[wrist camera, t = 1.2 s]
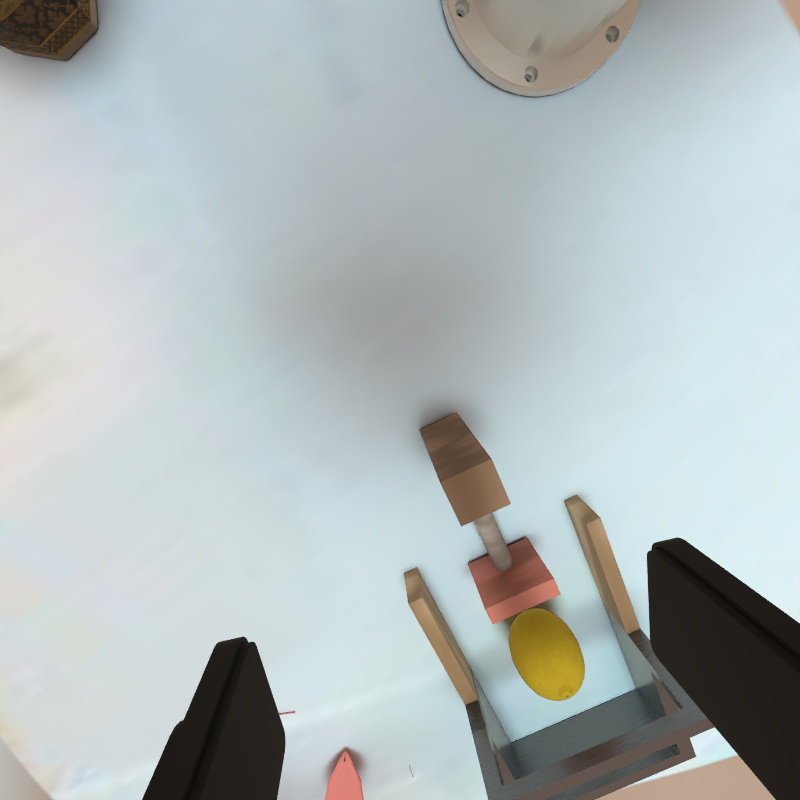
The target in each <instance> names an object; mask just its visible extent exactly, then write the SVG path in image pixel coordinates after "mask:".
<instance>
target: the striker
mask: <svg viewBox="0 0 800 800" xmlns="http://www.w3.org/2000/svg"><path fill="white" fill-rule="evenodd" d="M420 433H421V435H422V438H423V440H424V443H425V445H426V448H427V450H428V453H429V455H430V458H431V460H432V463H433V466H434V468H435V471H436V473H437V476H438V478H439V481H440V483H441V485H442V487H443V489H444V491H445V493H446V496H447V498H448V500H449V502H450V504H451V506H452V508H453V510H454V512H455V514H456V516H457V518H458V521H459V523H460V525H461V526H463V525H465V524H467V523H470V522H472V521H474V523H475V526H476V528H477V530H478V532H479V534H480V536H481V538H482V541H483V543H484V545H485V547H486V549H487V551H488V553H489V555H487V556H485V557H483V558H481V559H478V560H476V561H474V562H472V563H469V564H468V565H469V568H470V570H471V573H472V576H473V578H474V581H475V583H476V586H477V589H478V591H479V594H480V597H481V599H482V602H483V605H484V607H485V610H486V612H487V614H488V616H489V618H490V620H491V622H492V624H495V623H497V622H499V621H502V620H504V619H506V618H508V617H511V616H513V615H515V614H517V613H520V612H522V611H524V610H526V609H529V608H531V607H533V606H535V605H538V604H540V603H542V602H544V601H547V600H549V599H551V598H553V597H556V596H558V595H560V592H559V590H558V587H557V585H556V582H555V580H554V578H553V576H552V575H551V573H550V572H549V570H548V569H547V567H546V566H545V564H544V563H543V561H542V560H541V558H540V557H539V555H538V554H537V552H536V551H535V549H534V548H533V546H532V545H531V543H530V541H529V540H528V538H525V539H523V540H521V541H518V542H516V543H514V544H512V545H509V546H506V543H505V541H504V539H503V537H502V535H501V532H500V530H499V528H498V526H497V523H496V521H495V519H494V517H493V514H492V512H494V511H496V510H498V509H500V508H503V507H505V506H507V505H509V504H511V503H510V501H509V499H508V496H507V494H506V492H505V489H504V487H503V485H502V482H501V480H500V478H499V475H498V473H497V471H496V468H495V466H494V464H493V461H492V459H491V458H490V456H489V455H488V454H487V452H486V451H485V450H484V448H483V447H482V446H481V444H480V443H479V442H478V440H477V439H476V438H475V436H474V435H473V434H472V432H471V431H470V430H469V428H468V427H467V426H466V424H465V423H464V422H463V420H462V419H461V418H460V417H459V415H458V414H457V413H455V414H453V415H451V416H449V417H446V418H444V419H442V420H440V421H438V422H436V423H433V424H431V425H429V426H427V427H425V428H423V429H421V430H420Z"/></svg>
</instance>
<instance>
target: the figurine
mask: <svg viewBox="0 0 800 800" xmlns="http://www.w3.org/2000/svg"><path fill="white" fill-rule="evenodd" d="M289 713H295V711H293V712H285V713H279V715H281V714H289ZM351 760H352V759H351V758H350V756H349V754H348V753H347V751H344V753H343V755H342V756H341V758H340V759H339V761H338V763H337V765H336V767H335V769H334V771H333V774H332V776H331V778H330V780H329V783H328V788H327V792H326V797H325V800H364V799H363V792H362V785H361V780H360V777H359V775H357V774H358V773H356V772H357V770H356V771H355V769H356V768H354V767H355V766H353V764H352V762H353V761H352V762H351ZM409 767H410V765H409ZM410 770H411V769H410ZM411 773H412V772H411ZM412 776H413V775H412Z"/></svg>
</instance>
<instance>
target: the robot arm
mask: <svg viewBox="0 0 800 800" xmlns="http://www.w3.org/2000/svg"><path fill="white" fill-rule="evenodd" d="M441 1H442V7H443V11H444V14H445V17H446V21H447V24H448V27H449V30H450V32H451V34H452V36H453V38H454V40H455V42H456V44H457V47H458V49H459V50H460V51H461V53H462V54H463V56H464V57H465V58H466V60H467V61H468V62H469V64H470V65H471V66H472V67H473V68H474V69H475V70H476V71H477V72H478V73H479V74H480V75H481V76H482V77H484V78H485V79H486V80H487V81H489V82H491V83H492V84H494V85H496V86H497V87H499V88H501V89H503V90H506V91H509V92H512V93H515V94H518V95H526V96H536V97H537V96H545V95H552V94H557V93H559V92H562V91H565V90H567V89H570V88H573V87H574V86H576V85H577V84H579V83H581V82H582V81H584V80H585V79H587V78H589V77H590V76H591V75H592V74H593V73H594V72H595V71H596V70H598V69H599V68H600V67H601V66H602V65H603V64H604V63H605V62H606V61H607V60H608V59H609V58H610V56H611V55H612V54H613V53H614V52H615V51H616V50H617V49H618V47H619V46H620V44H621V42H622V41H623V39H624V38H625V36H626V35H627V33H628V32H629V30H630V28H631V26H632V23H633V21H634V19H635V16H636V14H637V12H638V10H639V7H640V3H641V0H441ZM457 14H461V15H462V17H460V16H458V15H457ZM525 77H526V78H528V80H529V82H528V81H526V79H525ZM647 570H648V596H649V622H650V642H651V647H652V649H653V652H654V654H655V655H656V657H657V658H658V660H659V661H660V662H661V664H662V665H663V666H664V667H665V668H666V669H667V671H668V672H669V673H670V674H671V675H672V677H673V678H674V679H675V680H676V681H677V683H678V684H679V685H680V686H681V687H682V688H683V690H684V691H685V692H686V693H687V694H688V696H689V697H690V698H691V699H692V700H693V702H694V703H695V704H696V705H697V706H698V708H699V709H700V710H701V711H702V712H703V713H704V715H705V716H706V717H707V718H708V719H709V721H710V722H711V723H712V724H713V725H714V727H715V728H716V729H717V730H718V731H719V732H720V734H721V735H722V736H723V737H724V738H725V740H726V741H727V742H728V743H729V744H730V746H731V747H732V748H733V749H734V750H735V751H736V753H737V754H738V755H739V756H740V757H741V759H742V760H743V761H744V762H745V763H746V764H747V766H748V767H749V768H750V769H751V770H752V772H753V773H754V774H755V775H756V776H757V778H758V779H759V780H760V781H761V782H762V784H763V785H764V786H765V787H766V788H767V789H768V791H769V792H770V793H771V794H772V795H773V797H774V798H775V799H776V800H800V623H798V622H797V621H795V620H794V619H793V618H791V617H790V616H789V615H787V614H786V613H784V612H783V611H782V610H780V609H779V608H778V607H776V606H775V605H773V604H772V603H771V602H769V601H768V600H767V599H765V598H764V597H762V596H761V595H760V594H758V593H757V592H755V591H754V590H753V589H751V588H750V587H749V586H747V585H746V584H744V583H743V582H742V581H740V580H739V579H738V578H736V577H735V576H733V575H732V574H731V573H729V572H728V571H727V570H725V569H724V568H722V567H721V566H720V565H718V564H717V563H715V562H714V561H713V560H711V559H710V558H709V557H707V556H706V555H704V554H703V553H702V552H700V551H699V550H698V549H696V548H695V547H693V546H692V545H691V544H689V543H688V542H687V541H685V540H683V539H681V538H673V539H669V540H665V541H660V542H656V543H654V544H653V545H652V550H651V551H648V553H647ZM284 753H285V732H284V728H283V725H282V722H281V719H280V716H279V713H278V710H277V707H276V704H275V701H274V698H273V695H272V692H271V689H270V686H269V683H268V680H267V677H266V674H265V670H264V667H263V664H262V661H261V658H260V655H259V652H258V649H257V646H256V644H255V643H254V642H249V643H248V641H247V639H246V638H245V637H239V638H235V639H231V640H226V641H222V642H218V643H217V644H216V646H215V647H214V649H213V652H212V654H211V657H210V659H209V661H208V664H207V666H206V668H205V671H204V673H203V676H202V678H201V680H200V683H199V685H198V687H197V690H196V692H195V694H194V697H193V699H192V702H191V704H190V706H189V709H188V711H187V713H186V716H185V718H184V720H183V721H180V722H179V723H178V724H177V725H176V726H175V728H174V730H173V731H172V733H171V735H170V737H169V739H168V742H167V744H166V746H165V749H164V751H163V753H162V755H161V758H160V760H159V762H158V765H157V767H156V769H155V771H154V774H153V776H152V778H151V781H150V783H149V785H148V787H147V790H146V792H145V794H144V797H143V799H142V800H277V795H278V789H279V783H280V777H281V771H282V765H283V759H284Z"/></svg>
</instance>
